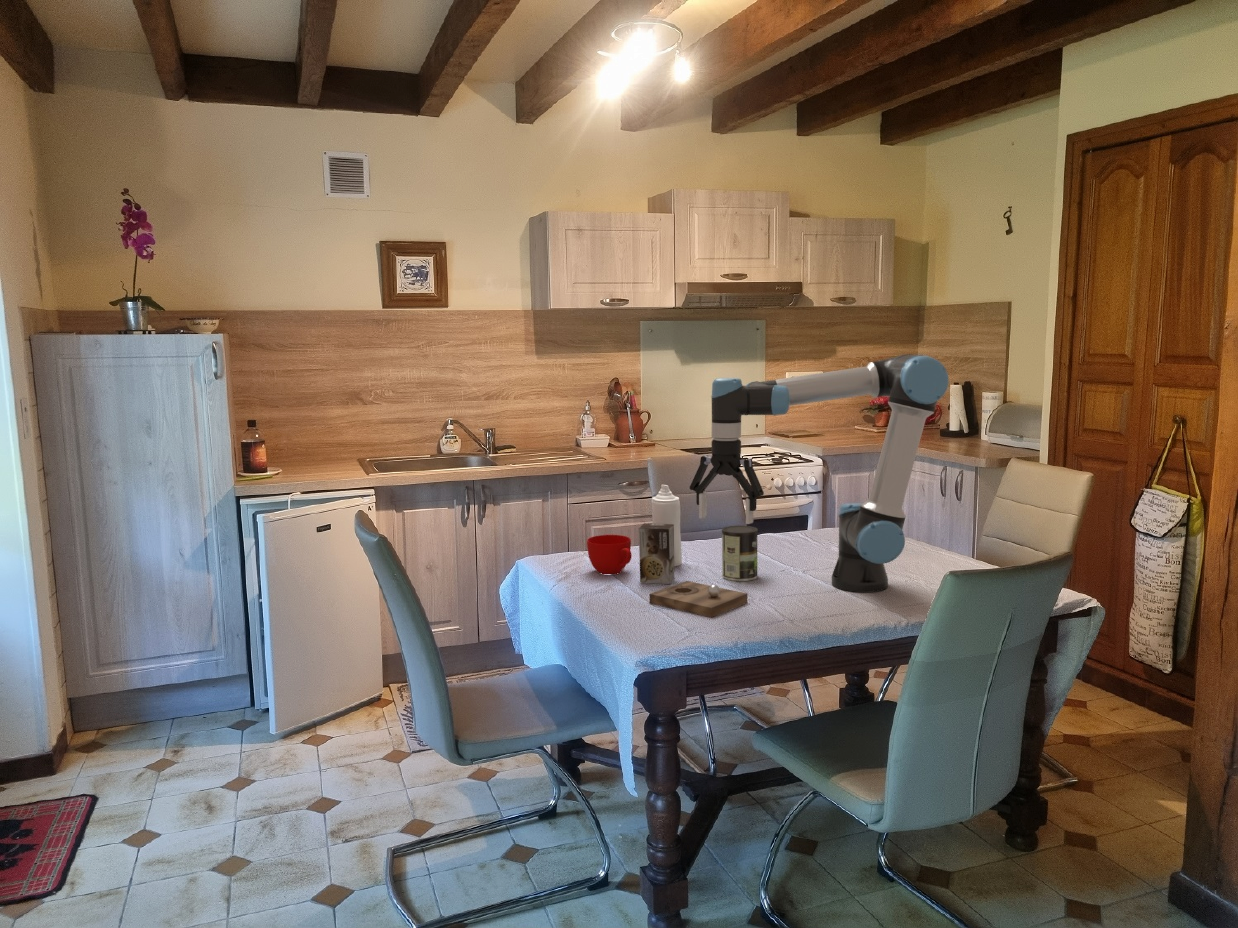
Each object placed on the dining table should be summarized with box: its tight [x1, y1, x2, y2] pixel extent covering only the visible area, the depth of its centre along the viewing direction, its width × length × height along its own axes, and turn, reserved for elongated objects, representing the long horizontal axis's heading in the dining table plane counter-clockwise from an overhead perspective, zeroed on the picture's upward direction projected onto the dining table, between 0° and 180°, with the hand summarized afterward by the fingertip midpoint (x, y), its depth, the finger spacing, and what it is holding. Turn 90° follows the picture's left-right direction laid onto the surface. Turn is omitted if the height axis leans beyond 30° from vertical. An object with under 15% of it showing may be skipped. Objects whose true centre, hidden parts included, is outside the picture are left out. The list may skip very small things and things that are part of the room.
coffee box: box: [638, 522, 676, 585], centre depth 267 cm, size 9×6×16 cm
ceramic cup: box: [586, 534, 633, 575], centre depth 276 cm, size 13×17×10 cm
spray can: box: [650, 484, 683, 567], centre depth 284 cm, size 12×11×25 cm
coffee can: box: [721, 525, 759, 582], centre depth 270 cm, size 10×10×14 cm
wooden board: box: [649, 580, 748, 618], centre depth 246 cm, size 20×16×2 cm
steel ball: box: [708, 584, 721, 597], centre depth 243 cm, size 3×3×3 cm
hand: (725, 520), depth 243 cm, fingers open, 13 cm apart
